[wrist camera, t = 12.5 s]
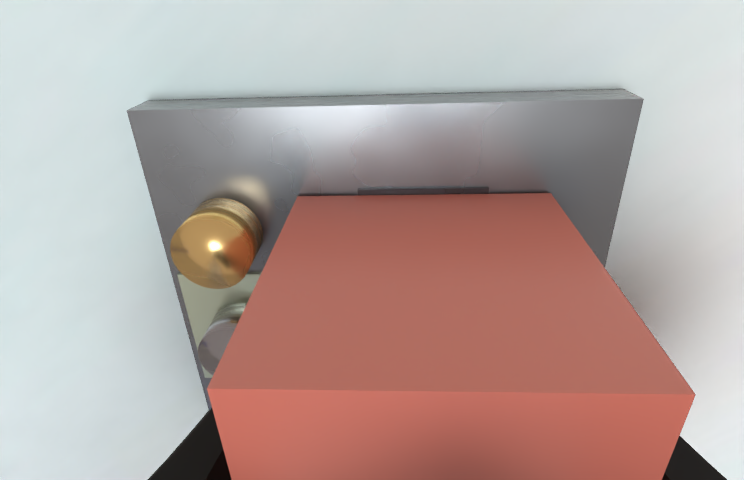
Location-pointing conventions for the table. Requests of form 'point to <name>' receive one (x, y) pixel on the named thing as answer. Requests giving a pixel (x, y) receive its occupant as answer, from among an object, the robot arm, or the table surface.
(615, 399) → the cap
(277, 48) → the table surface
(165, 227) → the panel
